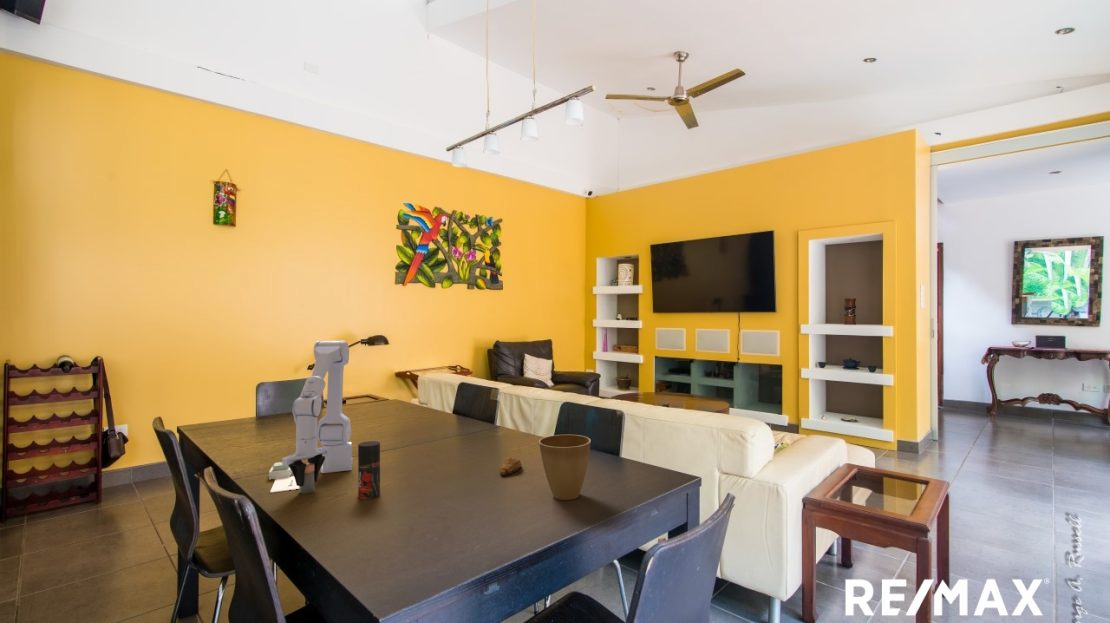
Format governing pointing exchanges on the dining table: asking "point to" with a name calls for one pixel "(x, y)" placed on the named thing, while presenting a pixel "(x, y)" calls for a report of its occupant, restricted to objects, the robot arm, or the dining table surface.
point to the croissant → (509, 466)
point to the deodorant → (368, 469)
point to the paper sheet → (284, 484)
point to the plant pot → (565, 463)
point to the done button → (279, 466)
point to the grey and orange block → (308, 479)
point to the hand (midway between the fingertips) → (306, 483)
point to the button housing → (279, 473)
